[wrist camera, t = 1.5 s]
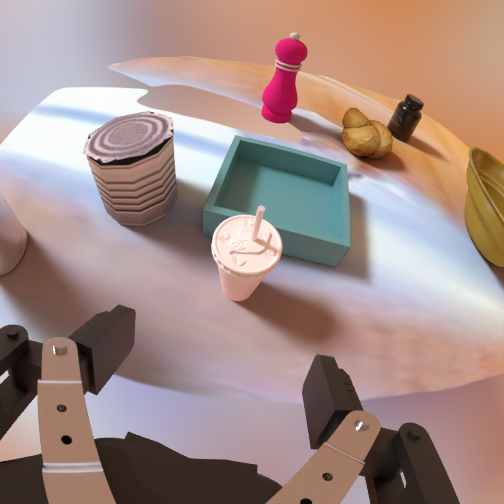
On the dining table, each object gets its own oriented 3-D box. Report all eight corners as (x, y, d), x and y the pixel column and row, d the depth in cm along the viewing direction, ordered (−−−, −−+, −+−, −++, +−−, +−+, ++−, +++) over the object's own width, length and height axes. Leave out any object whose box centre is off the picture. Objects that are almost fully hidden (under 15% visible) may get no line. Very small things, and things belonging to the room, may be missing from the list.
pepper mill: (282, 107, 57) (302, 30, 40) (298, 124, 54) (322, 40, 37) (253, 109, 55) (269, 26, 38) (267, 126, 52) (287, 35, 35)
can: (105, 235, 34) (77, 170, 24) (105, 179, 39) (88, 118, 29) (184, 218, 37) (180, 148, 27) (172, 165, 42) (169, 101, 32)
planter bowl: (524, 321, 36) (565, 295, 25) (438, 262, 40) (488, 216, 29) (508, 223, 53) (535, 196, 42) (432, 165, 57) (457, 126, 45)
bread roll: (382, 143, 56) (395, 117, 50) (395, 170, 51) (413, 143, 45) (333, 130, 55) (344, 101, 48) (343, 158, 50) (358, 126, 43)
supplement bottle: (402, 130, 63) (420, 97, 53) (411, 145, 60) (431, 110, 50) (383, 123, 63) (400, 88, 53) (391, 137, 59) (410, 100, 49)
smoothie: (274, 298, 33) (311, 228, 21) (226, 321, 30) (237, 259, 19) (247, 255, 35) (268, 173, 23) (201, 275, 33) (199, 194, 21)
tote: (202, 234, 36) (202, 210, 32) (232, 159, 45) (235, 135, 40) (335, 267, 36) (350, 247, 32) (336, 186, 45) (346, 165, 41)
